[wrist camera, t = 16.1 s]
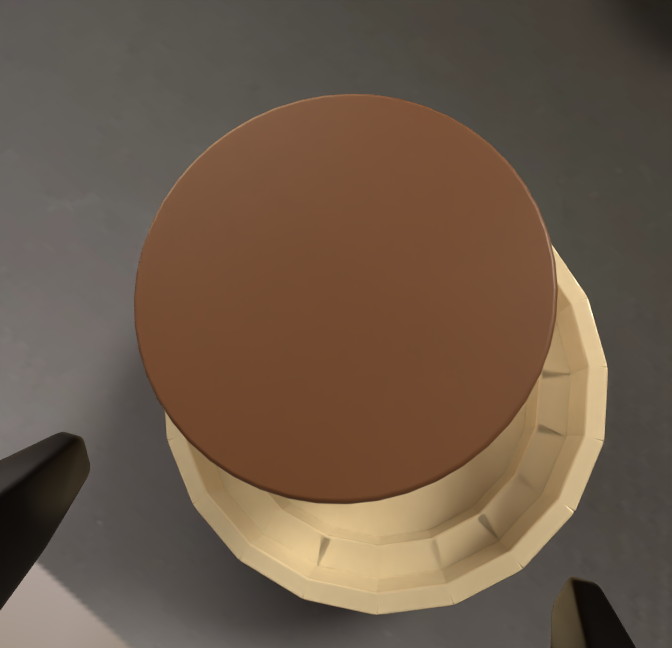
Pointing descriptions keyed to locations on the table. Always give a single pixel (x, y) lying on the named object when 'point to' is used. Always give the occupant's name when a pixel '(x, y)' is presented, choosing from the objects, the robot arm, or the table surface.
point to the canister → (345, 299)
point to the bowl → (431, 497)
